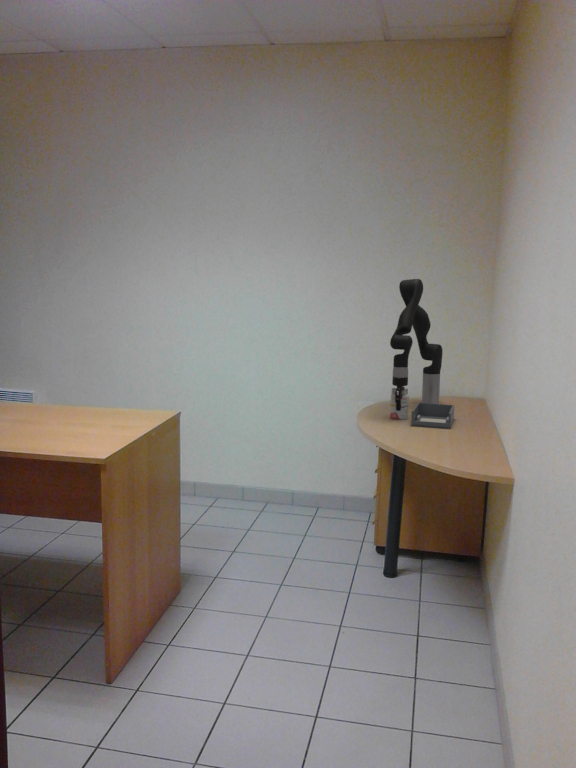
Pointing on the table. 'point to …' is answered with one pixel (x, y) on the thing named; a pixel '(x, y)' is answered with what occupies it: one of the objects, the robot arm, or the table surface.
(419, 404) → the walled box
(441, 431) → the table surface
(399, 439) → the table surface
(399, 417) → the ink cartridge box
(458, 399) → the table surface
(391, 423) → the table surface
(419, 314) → the robot arm
